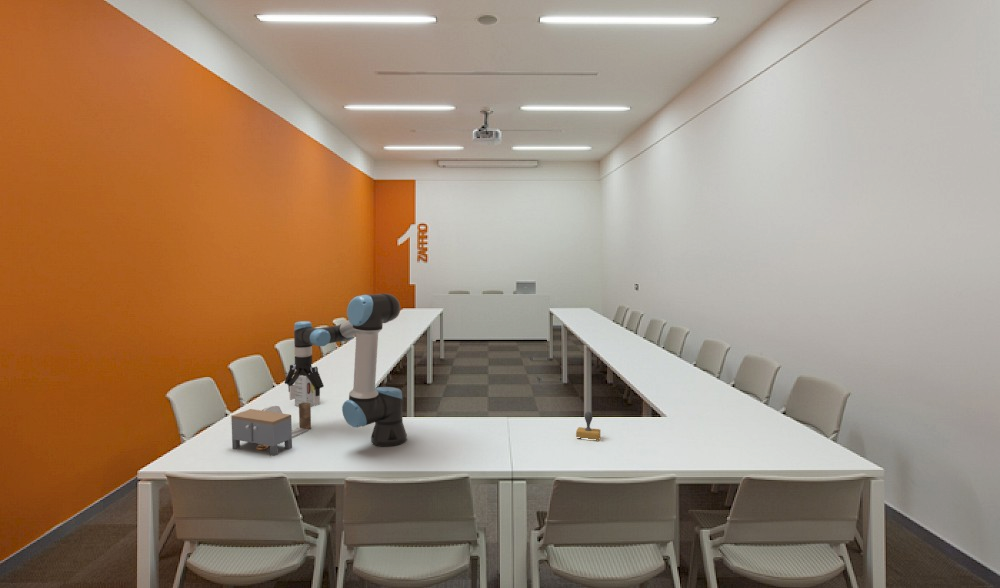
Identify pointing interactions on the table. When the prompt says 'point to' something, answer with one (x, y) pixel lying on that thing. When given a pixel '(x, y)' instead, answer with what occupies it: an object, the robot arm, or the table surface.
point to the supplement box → (304, 391)
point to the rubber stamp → (588, 429)
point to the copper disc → (262, 447)
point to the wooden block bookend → (303, 419)
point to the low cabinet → (262, 429)
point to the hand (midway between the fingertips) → (304, 401)
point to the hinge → (273, 409)
